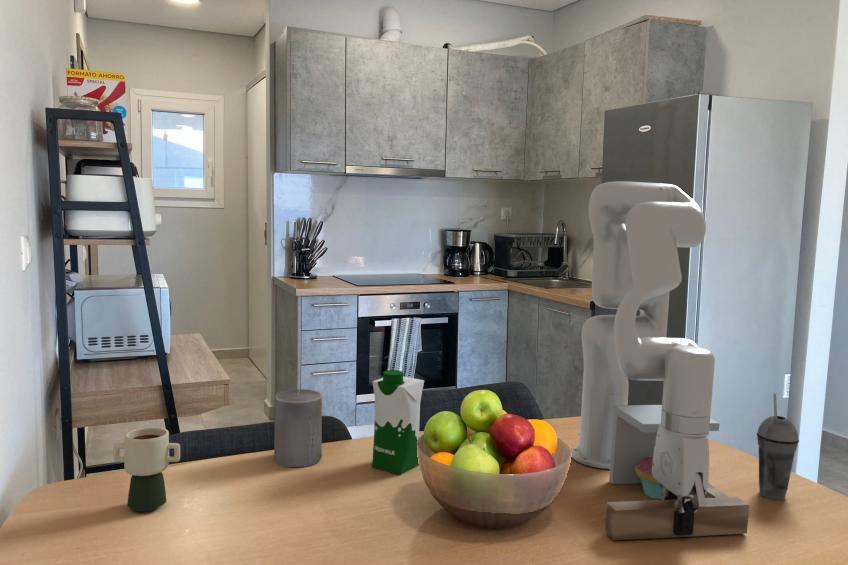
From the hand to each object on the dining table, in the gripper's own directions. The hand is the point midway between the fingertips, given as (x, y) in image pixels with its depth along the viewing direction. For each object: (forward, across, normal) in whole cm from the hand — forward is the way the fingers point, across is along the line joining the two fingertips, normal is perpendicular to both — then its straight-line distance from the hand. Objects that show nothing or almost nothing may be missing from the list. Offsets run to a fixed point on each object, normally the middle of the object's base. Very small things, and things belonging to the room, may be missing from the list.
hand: (676, 527), depth 115 cm
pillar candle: (+2, -40, -62) cm, 74 cm away
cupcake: (+1, -16, +5) cm, 17 cm away
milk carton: (+1, -34, -42) cm, 55 cm away
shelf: (+1, -17, +6) cm, 18 cm away
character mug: (+1, -19, -88) cm, 90 cm away
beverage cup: (+1, -14, +28) cm, 31 cm away
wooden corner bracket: (+1, -9, 0) cm, 9 cm away
